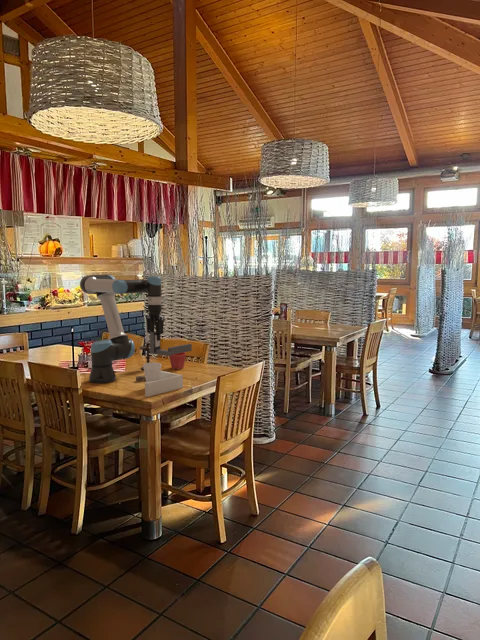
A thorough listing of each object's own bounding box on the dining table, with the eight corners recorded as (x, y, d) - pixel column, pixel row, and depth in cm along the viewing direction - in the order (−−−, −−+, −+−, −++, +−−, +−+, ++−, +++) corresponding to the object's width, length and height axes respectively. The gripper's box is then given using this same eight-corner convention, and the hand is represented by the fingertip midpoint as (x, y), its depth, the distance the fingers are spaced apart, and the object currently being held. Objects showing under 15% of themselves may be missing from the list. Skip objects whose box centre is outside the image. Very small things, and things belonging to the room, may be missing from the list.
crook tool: (148, 353, 266) (148, 331, 265) (174, 348, 282) (174, 328, 281) (165, 356, 258) (165, 334, 256) (191, 350, 274) (191, 330, 272)
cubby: (125, 390, 255) (124, 378, 254) (160, 382, 274) (160, 370, 273) (147, 396, 243) (147, 383, 242) (182, 387, 262) (182, 375, 261)
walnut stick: (138, 382, 275) (137, 377, 275) (136, 381, 277) (135, 376, 277) (163, 378, 284) (163, 374, 284) (161, 377, 286) (161, 373, 286)
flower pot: (183, 369, 307) (183, 355, 306) (167, 369, 309) (166, 354, 308) (187, 366, 318) (187, 352, 317) (172, 366, 319) (171, 351, 318)
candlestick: (143, 371, 304) (141, 316, 300) (137, 368, 313) (136, 315, 309) (159, 369, 309) (158, 315, 305) (153, 366, 318) (152, 314, 315)
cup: (149, 384, 268) (149, 361, 267) (165, 386, 265) (164, 363, 263) (139, 388, 259) (139, 365, 258) (155, 390, 256) (155, 366, 254)
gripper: (139, 303, 265) (140, 345, 268) (159, 305, 255) (160, 348, 258) (150, 303, 271) (150, 343, 274) (169, 304, 261) (170, 346, 264)
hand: (155, 345), depth 266 cm, fingers closed on crook tool, 3 cm apart
